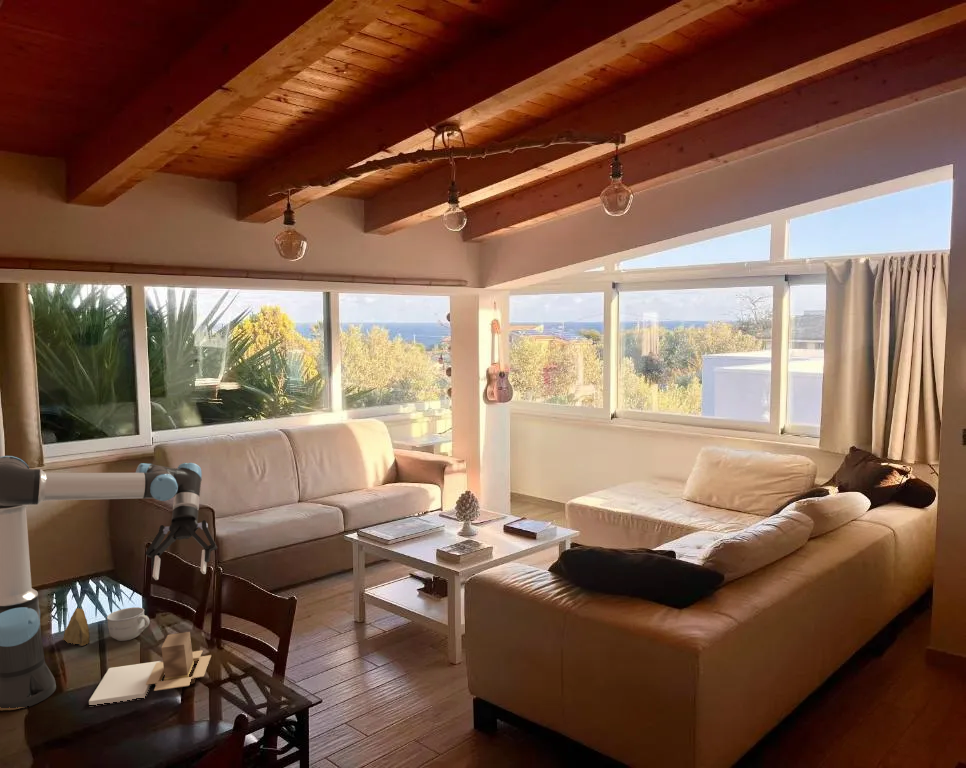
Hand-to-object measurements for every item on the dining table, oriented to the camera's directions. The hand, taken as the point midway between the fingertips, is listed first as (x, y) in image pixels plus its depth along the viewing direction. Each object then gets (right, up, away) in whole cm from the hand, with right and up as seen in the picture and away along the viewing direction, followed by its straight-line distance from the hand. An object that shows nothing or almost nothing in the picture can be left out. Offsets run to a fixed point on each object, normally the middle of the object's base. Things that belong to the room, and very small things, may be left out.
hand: (179, 575), depth 219 cm
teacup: (-23, -25, +20) cm, 39 cm away
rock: (-40, -26, +19) cm, 51 cm away
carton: (+3, -27, -7) cm, 28 cm away
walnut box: (+3, -27, -7) cm, 28 cm away
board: (-10, -28, -10) cm, 32 cm away
